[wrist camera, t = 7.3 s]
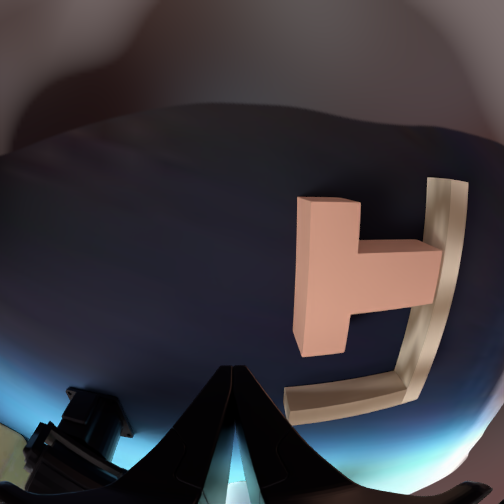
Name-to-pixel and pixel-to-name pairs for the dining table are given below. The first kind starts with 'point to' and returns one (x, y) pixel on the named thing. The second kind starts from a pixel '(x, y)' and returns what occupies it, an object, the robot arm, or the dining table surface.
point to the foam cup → (237, 493)
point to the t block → (351, 273)
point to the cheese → (12, 457)
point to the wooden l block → (417, 332)
